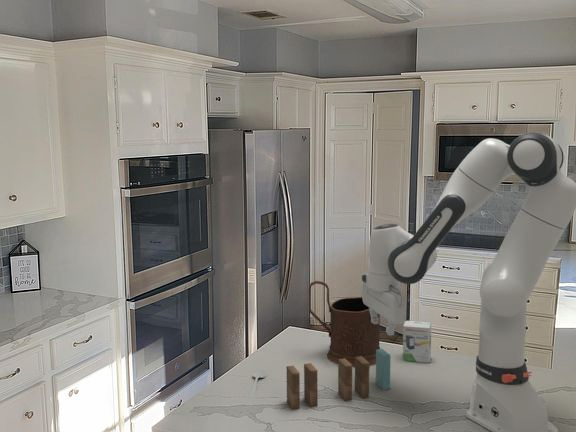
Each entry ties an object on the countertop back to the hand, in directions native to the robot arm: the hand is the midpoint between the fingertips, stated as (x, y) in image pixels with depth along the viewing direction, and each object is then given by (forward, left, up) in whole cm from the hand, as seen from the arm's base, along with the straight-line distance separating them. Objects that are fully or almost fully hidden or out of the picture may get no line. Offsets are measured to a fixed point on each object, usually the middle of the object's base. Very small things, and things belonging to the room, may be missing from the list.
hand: (382, 328), depth 164 cm
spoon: (+11, +34, -18) cm, 40 cm away
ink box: (+14, -19, -17) cm, 29 cm away
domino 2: (-3, +23, -17) cm, 28 cm away
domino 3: (-3, +13, -17) cm, 21 cm away
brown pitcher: (+24, +1, -17) cm, 29 cm away
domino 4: (-3, +8, -17) cm, 19 cm away
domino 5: (0, 0, -17) cm, 17 cm away
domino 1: (-3, +28, -17) cm, 33 cm away
